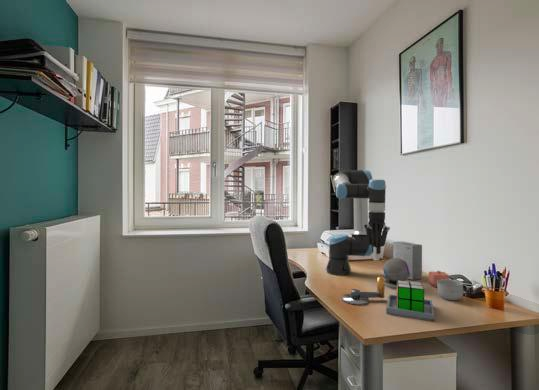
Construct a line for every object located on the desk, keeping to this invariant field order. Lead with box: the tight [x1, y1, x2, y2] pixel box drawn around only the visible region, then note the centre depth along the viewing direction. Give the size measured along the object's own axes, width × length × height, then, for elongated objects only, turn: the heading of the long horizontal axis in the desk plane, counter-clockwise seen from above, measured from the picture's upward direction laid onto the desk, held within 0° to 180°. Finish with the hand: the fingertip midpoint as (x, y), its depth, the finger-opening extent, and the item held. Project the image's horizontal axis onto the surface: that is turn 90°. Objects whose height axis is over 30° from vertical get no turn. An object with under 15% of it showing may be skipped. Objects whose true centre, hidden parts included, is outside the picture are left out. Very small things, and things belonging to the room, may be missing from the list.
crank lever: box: [350, 276, 386, 299], centre depth 141 cm, size 16×4×9 cm, turn 92°
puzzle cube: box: [396, 280, 425, 313], centre depth 130 cm, size 10×10×10 cm
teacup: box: [437, 279, 464, 301], centre depth 145 cm, size 14×11×8 cm
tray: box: [385, 294, 435, 322], centre depth 130 cm, size 18×18×2 cm
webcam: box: [383, 257, 409, 290], centre depth 163 cm, size 13×13×15 cm
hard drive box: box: [392, 240, 423, 281], centre depth 181 cm, size 16×8×20 cm, turn 22°
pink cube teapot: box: [428, 270, 451, 289], centre depth 162 cm, size 8×12×8 cm, turn 173°
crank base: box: [341, 293, 370, 306], centre depth 141 cm, size 12×12×1 cm
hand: (376, 259), depth 147 cm, fingers closed
